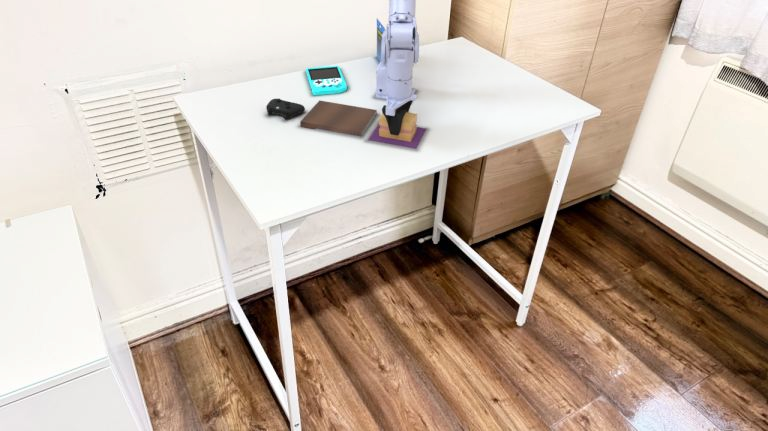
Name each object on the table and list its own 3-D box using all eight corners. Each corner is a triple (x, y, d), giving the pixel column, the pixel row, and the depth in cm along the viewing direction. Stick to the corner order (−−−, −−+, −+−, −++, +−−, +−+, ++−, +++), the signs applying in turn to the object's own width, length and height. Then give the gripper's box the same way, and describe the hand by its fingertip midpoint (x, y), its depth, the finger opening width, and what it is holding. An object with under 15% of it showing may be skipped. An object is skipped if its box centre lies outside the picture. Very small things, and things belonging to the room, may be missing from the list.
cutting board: (300, 126, 130) (300, 121, 129) (319, 105, 139) (319, 100, 138) (361, 137, 127) (361, 132, 126) (376, 115, 136) (376, 109, 135)
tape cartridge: (396, 67, 159) (397, 26, 151) (383, 68, 158) (384, 27, 150) (387, 56, 166) (388, 16, 158) (375, 57, 165) (376, 17, 157)
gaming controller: (307, 107, 136) (297, 99, 130) (300, 127, 136) (290, 119, 130) (276, 99, 139) (264, 91, 133) (269, 118, 139) (258, 111, 133)
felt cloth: (367, 141, 125) (367, 140, 125) (380, 121, 133) (380, 120, 133) (416, 149, 123) (416, 148, 123) (426, 129, 130) (426, 128, 130)
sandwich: (379, 136, 127) (379, 117, 124) (385, 126, 130) (385, 108, 127) (410, 142, 125) (411, 123, 122) (416, 132, 129) (417, 113, 125)
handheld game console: (312, 95, 143) (312, 91, 143) (305, 71, 155) (305, 67, 155) (348, 92, 145) (348, 87, 144) (338, 69, 157) (338, 64, 156)
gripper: (408, 92, 112) (405, 146, 120) (424, 65, 122) (421, 117, 131) (376, 87, 113) (376, 141, 122) (396, 61, 124) (394, 113, 133)
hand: (397, 128), depth 127 cm, fingers closed on sandwich, 5 cm apart
